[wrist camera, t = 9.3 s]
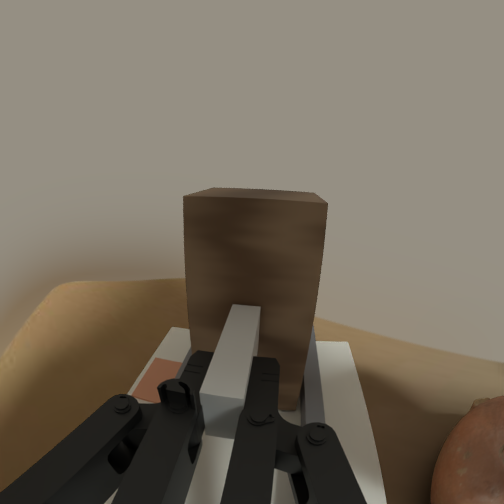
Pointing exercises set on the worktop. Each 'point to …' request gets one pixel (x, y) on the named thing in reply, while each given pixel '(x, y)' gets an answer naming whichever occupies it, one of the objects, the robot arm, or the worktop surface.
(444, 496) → the ceramic jug
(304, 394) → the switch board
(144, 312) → the worktop surface
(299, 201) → the slider
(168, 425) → the robot arm
